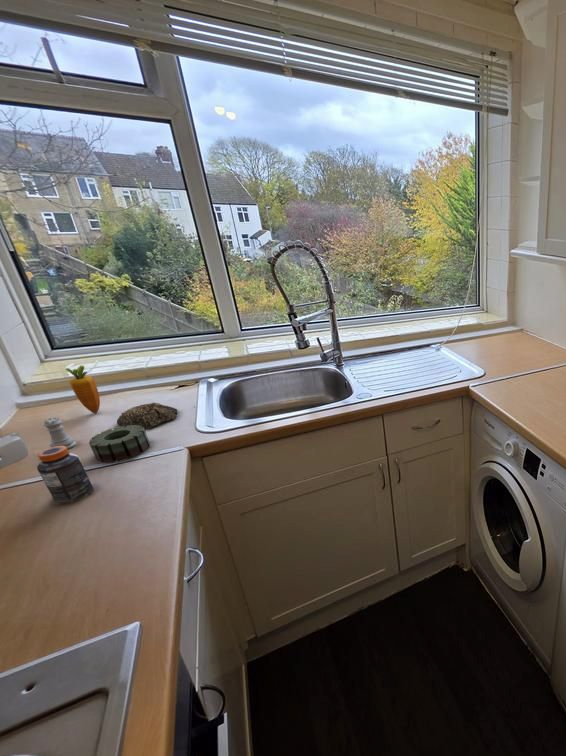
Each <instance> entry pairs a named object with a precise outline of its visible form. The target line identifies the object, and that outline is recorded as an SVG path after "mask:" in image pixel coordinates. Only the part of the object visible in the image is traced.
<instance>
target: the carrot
mask: <svg viewBox="0 0 566 756" xmlns="http://www.w3.org/2000/svg"><path fill="white" fill-rule="evenodd" d="M65 370H66V372H69V373H70V374H71V375H72V376H73V377H75V378H73V379H70V381H69V385H70V386H71V389H72V391H73V393H74V395H75V396H76V398H77V400H78V401H79V402H80V403H81V405H83V407H85V409H87V410H88V411H89V412H91V413H92V414H94V415H95V414H98V412H99V409H100V406H101V399H100V393H99V392H100V391H99V390H98V387H97V384H96V381H95V380H94V378H92V377H91V376H88V375H87V374H88V371H86V370H85V365H83V364H82V365H81V364H80V365H79V366H77V368H74V369H71V368H69V367H67V368H66V369H65ZM84 370H85V371H84Z"/></svg>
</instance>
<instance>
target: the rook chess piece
mask: <svg viewBox="0 0 566 756" xmlns="http://www.w3.org/2000/svg"><path fill="white" fill-rule="evenodd" d="M62 422H63V420H62V419H60V417H56V416H54V417H53V418H52V417H49V418H48V419H44V421H43V425H42V426H43V427H44V428H47V432H48V434H49V435H50V439H51V440H50V441H49V442H50V443H49V448H51V447H56V446H66V448H67V449H68V450H70V449H72V448H74V447H75V446H76V444H77V441H75V438H74V437H72V436H70V435H68V434H67V432H66V431H65V430H64V425H62Z"/></svg>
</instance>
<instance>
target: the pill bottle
mask: <svg viewBox="0 0 566 756" xmlns="http://www.w3.org/2000/svg"><path fill="white" fill-rule="evenodd" d="M37 456H38V458H39V460H40V462H39V463H38V464H37V467H36V470H37V471H38V473H39V476H40V477H41V479H42V481H43V483H44V485H45V486H46V488H47V490H48V492H49V493H50V496H51V497H52V499H53V501H54V502H55V503H57V504H69V503H74V502H77V501H79V500H81V499H84V498H85V497H87V496H88V495H90V494H91V493H92V492H93V491H94V490H95V489H94V485H93V483H92V481H91V479H90V477H89V476H88V473H87V472H86V469H85V467H84V465H83V463H82V461H81V459H80V457H79V456H78V455H77V454H76V453H72V452H70V451H69V449H67V448H66V446H56V447H49V448H46V449H43V450H42V451H40V452H39V453H38V454H37Z"/></svg>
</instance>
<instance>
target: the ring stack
mask: <svg viewBox="0 0 566 756" xmlns="http://www.w3.org/2000/svg"><path fill="white" fill-rule="evenodd" d="M88 445H89V446H90V449H91V451H92V453H93V455H94V458H95V460H96V461H97V462H99V463H104V464H108V463H109V464H111V463H115V462H117V463H118V462H122V461H125V460H129V458H131V459H133V458H135V457H138V456H139V455H141V454H142V453H145V452H146V451H147V450H148V449H150V447H151V442H150V439H149V437H148V434H147V432H146V428H143V427H142V426H139V425H137V426H136V425H127V426H126V427H124V426H117V427H113V429H111V428H110V429H106V430H104V431H101V432H100V433H96V434H95V435H94V436H92V437H91V438H90V439H89V441H88Z"/></svg>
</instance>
